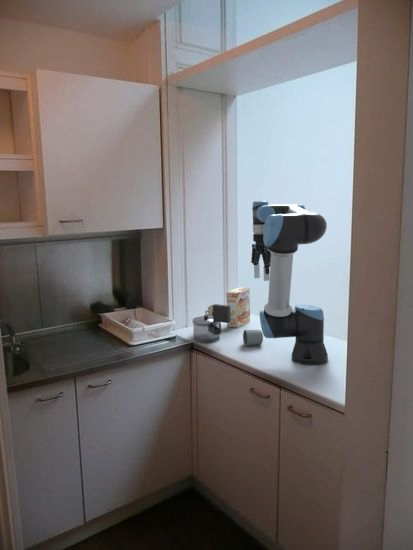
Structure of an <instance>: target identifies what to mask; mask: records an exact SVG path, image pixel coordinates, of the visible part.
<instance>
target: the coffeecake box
mask: <svg viewBox="0 0 413 550" xmlns="http://www.w3.org/2000/svg"><path fill="white" fill-rule="evenodd" d="M250 292H251V291H250V288H249V287H243V286H242V287H240V286H239V287H236V288H234V289H231V290H228V291H226V292H225V293H226V305H228V306H230V314H231V322H229V323H226V325H227V326H226V327H230V328H237V329H238V328H240V327H242V326H244V325H246V324H248V323H250V322H251V305H250V304H251V301H250V299H251V297H250V296H251V295H250Z"/></svg>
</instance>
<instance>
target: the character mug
mask: <svg viewBox="0 0 413 550" xmlns="http://www.w3.org/2000/svg"><path fill="white" fill-rule="evenodd" d="M213 305H214V304H210V305H208V306H207V309H206V310H205V312H204V313H205V314H204V315H208V316H213ZM219 328H220V329H221V330H222V322H219Z"/></svg>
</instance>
